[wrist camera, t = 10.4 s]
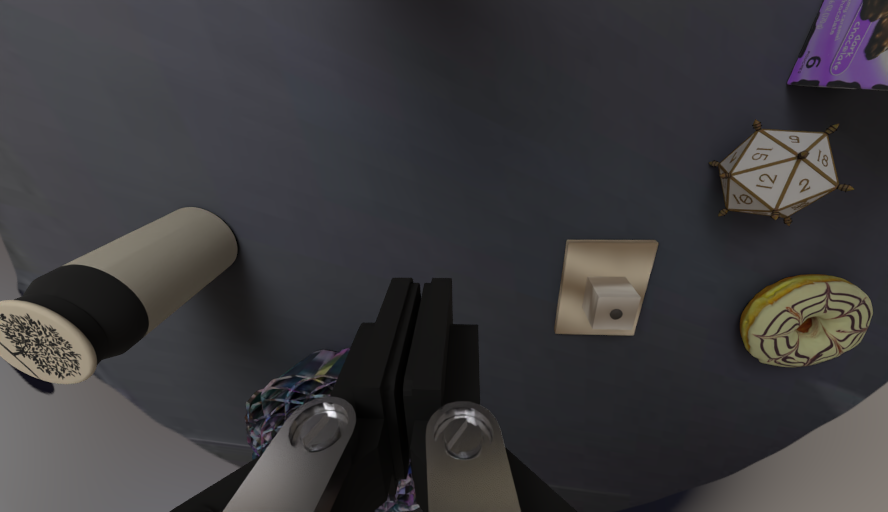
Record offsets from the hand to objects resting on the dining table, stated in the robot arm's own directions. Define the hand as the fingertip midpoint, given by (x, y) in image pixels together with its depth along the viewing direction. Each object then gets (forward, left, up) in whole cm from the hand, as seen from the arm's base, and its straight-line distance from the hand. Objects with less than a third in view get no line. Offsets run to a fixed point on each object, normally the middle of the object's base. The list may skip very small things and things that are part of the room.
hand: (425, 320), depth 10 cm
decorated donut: (+19, +37, -28) cm, 50 cm away
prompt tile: (+16, +16, -27) cm, 35 cm away
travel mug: (+10, -29, -27) cm, 41 cm away
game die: (+2, +27, -27) cm, 38 cm away
